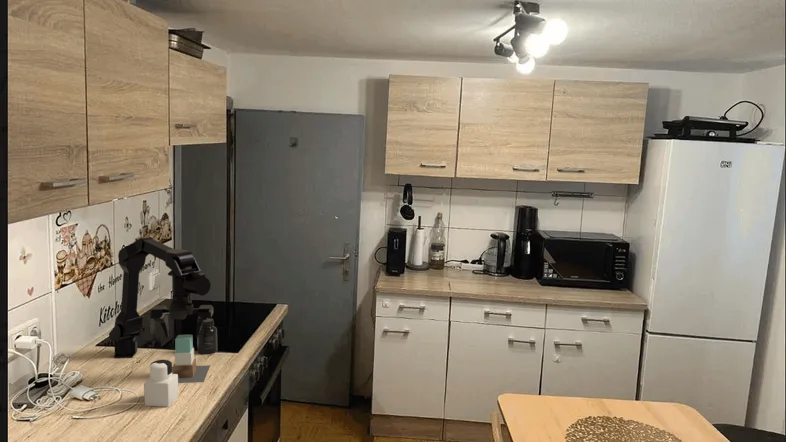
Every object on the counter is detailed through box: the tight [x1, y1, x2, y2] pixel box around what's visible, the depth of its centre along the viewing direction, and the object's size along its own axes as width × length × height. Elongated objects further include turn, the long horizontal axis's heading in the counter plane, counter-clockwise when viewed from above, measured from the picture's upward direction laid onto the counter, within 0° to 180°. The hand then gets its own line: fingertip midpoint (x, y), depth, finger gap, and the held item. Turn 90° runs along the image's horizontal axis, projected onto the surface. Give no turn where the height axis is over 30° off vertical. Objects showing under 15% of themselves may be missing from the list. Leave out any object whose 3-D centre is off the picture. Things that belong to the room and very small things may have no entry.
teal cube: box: [174, 334, 194, 354], centre depth 187 cm, size 4×4×4 cm
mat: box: [172, 365, 211, 384], centre depth 188 cm, size 14×14×1 cm
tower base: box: [172, 358, 197, 378], centre depth 188 cm, size 6×6×4 cm
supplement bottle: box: [196, 318, 218, 356], centre depth 209 cm, size 7×7×12 cm
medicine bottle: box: [143, 359, 179, 408], centre depth 169 cm, size 7×7×12 cm
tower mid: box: [174, 347, 195, 366], centre depth 188 cm, size 5×5×4 cm
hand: (182, 337), depth 188 cm, fingers open, 9 cm apart
